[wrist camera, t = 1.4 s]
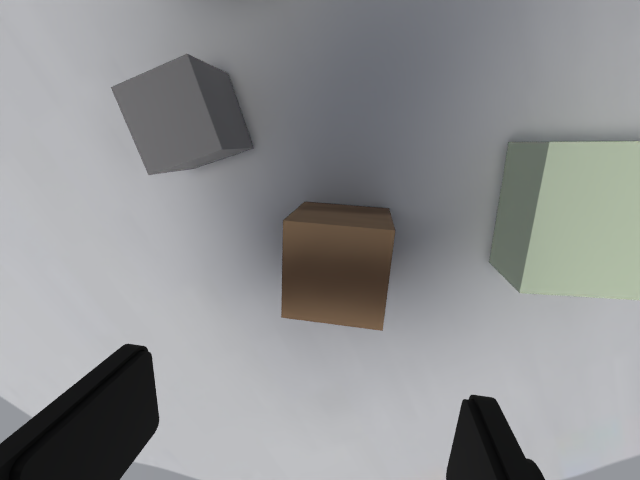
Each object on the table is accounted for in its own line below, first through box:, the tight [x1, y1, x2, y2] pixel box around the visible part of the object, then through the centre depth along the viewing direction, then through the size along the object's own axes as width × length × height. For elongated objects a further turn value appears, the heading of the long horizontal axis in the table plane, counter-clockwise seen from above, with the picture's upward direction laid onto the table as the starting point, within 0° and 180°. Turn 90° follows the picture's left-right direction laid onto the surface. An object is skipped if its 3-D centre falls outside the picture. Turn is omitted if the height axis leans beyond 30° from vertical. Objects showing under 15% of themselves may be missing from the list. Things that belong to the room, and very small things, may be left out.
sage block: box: [489, 141, 640, 300], centre depth 18 cm, size 8×8×5 cm
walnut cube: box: [281, 202, 395, 331], centre depth 21 cm, size 6×6×6 cm
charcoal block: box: [111, 54, 253, 175], centre depth 20 cm, size 5×5×5 cm
